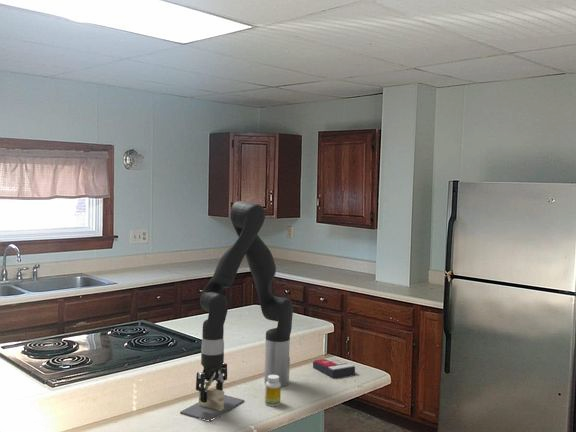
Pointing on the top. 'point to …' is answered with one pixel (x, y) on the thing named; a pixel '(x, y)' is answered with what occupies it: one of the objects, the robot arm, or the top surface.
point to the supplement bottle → (272, 390)
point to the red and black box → (334, 367)
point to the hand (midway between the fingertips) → (211, 398)
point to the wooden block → (213, 399)
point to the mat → (211, 413)
